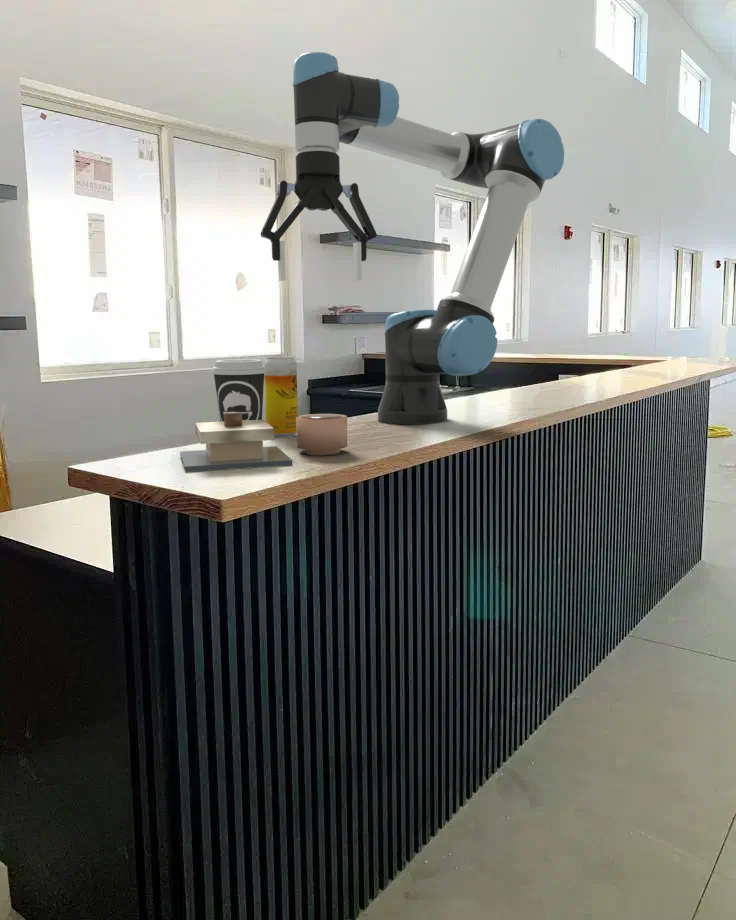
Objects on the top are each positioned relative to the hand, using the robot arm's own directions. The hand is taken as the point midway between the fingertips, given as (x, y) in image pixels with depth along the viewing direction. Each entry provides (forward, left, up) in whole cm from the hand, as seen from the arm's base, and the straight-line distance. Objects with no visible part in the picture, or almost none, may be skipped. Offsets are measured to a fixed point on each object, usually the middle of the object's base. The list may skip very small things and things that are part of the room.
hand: (320, 280), depth 138 cm
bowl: (+3, +12, -29) cm, 31 cm away
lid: (+18, +15, -25) cm, 34 cm away
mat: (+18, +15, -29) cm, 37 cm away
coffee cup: (+15, +1, -29) cm, 33 cm away
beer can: (+6, -9, -29) cm, 31 cm away
